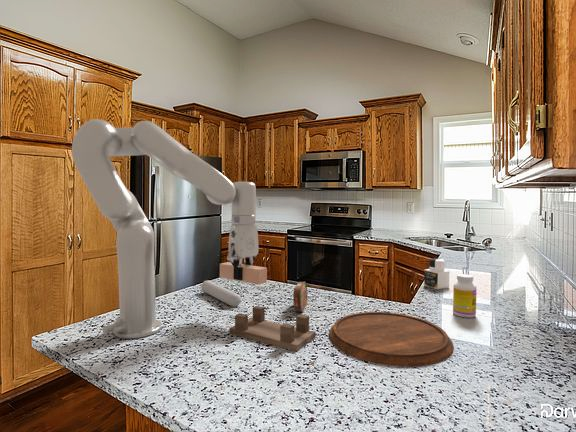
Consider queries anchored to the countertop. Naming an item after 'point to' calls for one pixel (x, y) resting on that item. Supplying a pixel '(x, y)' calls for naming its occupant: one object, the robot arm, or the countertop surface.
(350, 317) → the cutting board
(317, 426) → the countertop surface
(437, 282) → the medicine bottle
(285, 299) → the countertop surface
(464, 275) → the supplement bottle
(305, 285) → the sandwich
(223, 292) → the tube
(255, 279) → the clay strip
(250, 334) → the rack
